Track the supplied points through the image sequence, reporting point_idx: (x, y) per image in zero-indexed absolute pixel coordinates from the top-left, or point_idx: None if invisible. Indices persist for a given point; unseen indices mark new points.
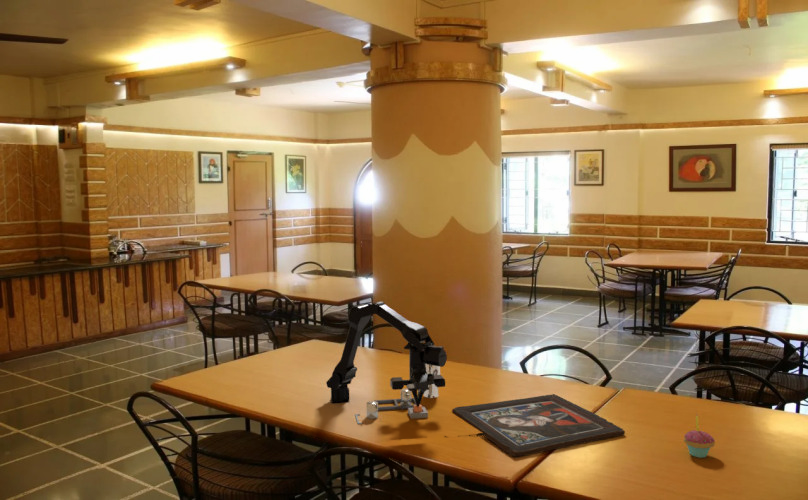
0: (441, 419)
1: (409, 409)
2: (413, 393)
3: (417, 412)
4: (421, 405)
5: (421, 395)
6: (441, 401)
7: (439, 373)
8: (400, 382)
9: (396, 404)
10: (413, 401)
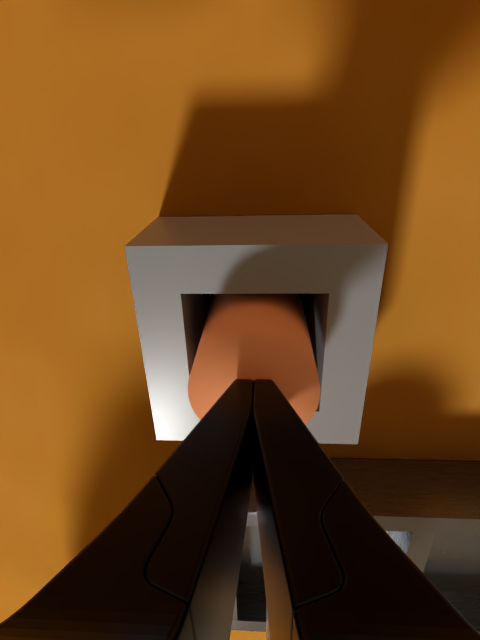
0: (10, 255)
1: (355, 398)
2: (438, 619)
3: (277, 278)
4: (195, 399)
5: (153, 522)
6: (35, 579)
7: None
8: None
9: (424, 554)
10: (238, 590)
